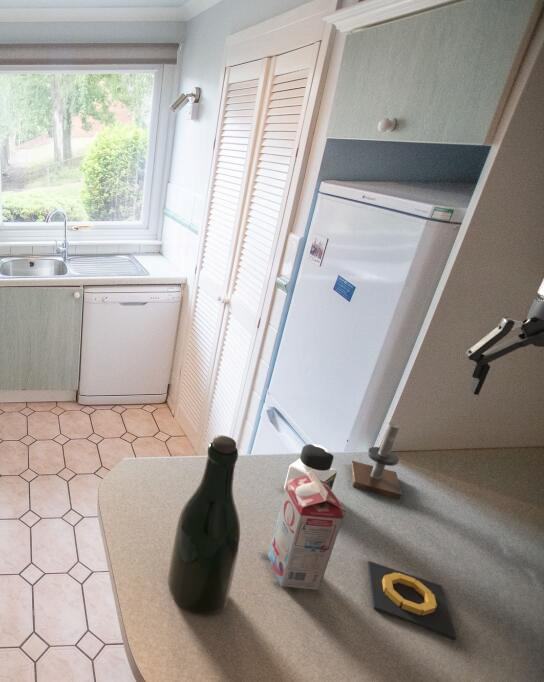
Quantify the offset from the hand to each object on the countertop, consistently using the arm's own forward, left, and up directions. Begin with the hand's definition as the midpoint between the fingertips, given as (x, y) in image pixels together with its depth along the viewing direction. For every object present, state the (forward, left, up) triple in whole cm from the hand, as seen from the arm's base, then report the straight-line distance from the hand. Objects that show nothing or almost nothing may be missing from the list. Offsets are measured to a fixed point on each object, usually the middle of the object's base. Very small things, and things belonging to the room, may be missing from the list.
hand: (518, 399), depth 91 cm
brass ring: (+16, +36, -26) cm, 47 cm away
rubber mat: (+16, +36, -27) cm, 48 cm away
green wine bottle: (+49, +53, -27) cm, 77 cm away
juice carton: (+34, +40, -27) cm, 59 cm away
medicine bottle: (+32, +14, -27) cm, 44 cm away
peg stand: (+18, +2, -27) cm, 32 cm away
